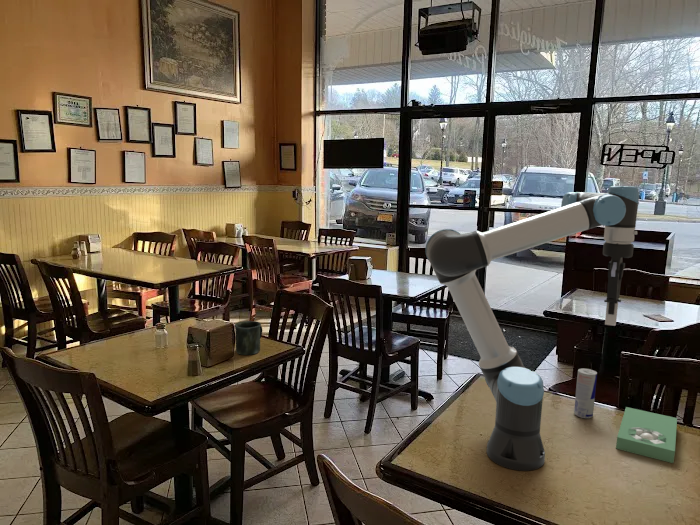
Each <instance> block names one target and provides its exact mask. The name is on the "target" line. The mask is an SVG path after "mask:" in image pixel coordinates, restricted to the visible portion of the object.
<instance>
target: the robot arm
mask: <svg viewBox="0 0 700 525" xmlns="http://www.w3.org/2000/svg"><path fill="white" fill-rule="evenodd" d="M639 204H640V191H639V188H638V187H637V186H631V185H629V186H628V185H611V186H609V187H608V190H607V192H587V191H585V192H584V191H583V192H582V191H581V192H580V191H576V192H574V191H573V192H572V191H571V192H566V193H565V194H564V195H563V197H562V200H561V204H560V205H561V206H560V207H558V208H555V209H554V208H553V209H552V210H548V211H546V212H543V213H539V214H536V215H533V216H529V217H527V218H523V219H521V220H518V221H514V222H511V223H508V224H504V225H502V226H499V227H496V228H493V229H490V230H486V231H483V232H481V231H479V230H474V231H470V232H467V233H461V232H459V231H457V230H454V229H452V228H451V229H450V228H447V229H446V228H444V229H440V230H437V231H436V232H434V233H433V234H432V235H430V237H428V240H427V242H426V245H425V249H424V250H425V255H426V258H427V260H428V262H429V263H430V266H431V267H432V271H433V272H434V274H435V276H436V277H437V280H438V283H439V284H441V285H443V286H446V287H447V289H448V291H449V293H450V295H451V297H452V300H453V301H454V304H455V305H456V307H457V310H458V312H459V314H460V316H461V319H462V321H463V322H464V324H465V327H466V329H467V331H468V333H469V335H470V337H471V339H472V341H473V344H474V346H475V348H476V350H477V352H478V354H479V356H480V359H479V362H478V367H479V368H480V370H481V372H482V375H483V377H484V379H485V380H484V381H485V383H486V385H487V386H488V388H489V390H490V391H491V394H492V396H493V398H494V400H495V404H496V405H495V406H496V408H495V421H494V422H495V423H494V428H493V430H491V431H492V432H491V435H490V436H489V439H488V440H487V443H486V454H487V457H488V458H489V459H490V460H491V461H492V462H494V463H495V464H497V465H499V466H501V467H504V468H506V469H510V470H514V471H527V472H528V471H533V470H534V471H535V470H537V469H539V468H541V467H543V466H544V464H545V459H546V452H545V448H544V444H543V441H542V436H541V423H542V411H543V400H544V395H545V387H544V381H543V379H542V376H540V374H539V373H537V372H535V371H534V370H532V371H531V369H529V368H526V367H525V366H524V364H523V361H522V359H521V357H520V356H519V353H518V351H517V349H516V348H515V347H513V346H509V344H508V342H507V340H506V338H505V336H504V333H503V331H502V329H501V327H500V325H499V322H498V320H497V318H496V316H495V314H494V312H493V309H492V307H491V305H490V303H489V301H488V299H487V297H486V295H485V293H484V290H483V288H482V286H481V284H480V282H479V279H478V277H477V275H476V272H477V271H478V270H479V269H483V268H486V267H488V266H489V265H490V264H491V263H492V261H494V260H497V259H500V258H503V257H507V256H510V255H513V254H516V253H518V252H523V251H526V250H528V249H532V248H534V247H538V246H541V245H543V244H547V243H550V242H553V241H556V240H560V239H562V238H566V237H569V236H572V235H574V234H578V233H581V232H584V231H588V230H590V229H591V230H592V229H594V228H595V229H596V228H597V227H602V226H604V231H603V232H604V233H603V240H604V242H603V247H602V255H603V256H605V257H610V258H611V259H610V261H609V262H608V263H607V278H608V279H607V288H606V289H607V292H606V299H604V303H606V309H605V317H604V318H605V319H604V320H605V321H604V325H605V326H614V327H615V326H616V325H617V317H618V310H619V308H618V306H619V303H621V302H622V299H620V297H621V296H620V293H621V285H622V278H623V276H624V269H625V267H626V263H625V262H623V259H629V258H632V257H633V256H634V255H633V254H634V247H635V246H634V241H635V235H636V236H637V235H638V230H636V227H637V226H636V225H637V216H638V210H639V209H638V208H639Z"/></svg>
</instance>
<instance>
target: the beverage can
mask: <svg viewBox="0 0 700 525" xmlns="http://www.w3.org/2000/svg"><path fill="white" fill-rule="evenodd" d="M597 380H598V372H597V371H596V370H593V369H590V368H578V370H577V377H576V388H575V396H574V397H575V399H574V409H573V410H574V411H573V414H575V415H576V417H579V418H581V419H591V418H593V417H594V407H595V399H596V398H595V397H596V389H597V388H596V387H597Z"/></svg>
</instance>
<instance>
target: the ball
mask: <svg viewBox="0 0 700 525" xmlns="http://www.w3.org/2000/svg"><path fill="white" fill-rule="evenodd" d="M640 437H641V438H643V439H647V440H655V439H654V437H653V436H652V435H651V434H649V433H642V434H641V435H640Z"/></svg>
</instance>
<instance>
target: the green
mask: <svg viewBox="0 0 700 525" xmlns="http://www.w3.org/2000/svg"><path fill="white" fill-rule="evenodd" d="M677 423H678V418H677V417H673V416H670V415H664V414H659V413H656V412H655V413H654V412H650V411H646V410H643V409H638V408H632V407H628V406H625V410H624V413H623V416H622V419H621V422H620V426H619V430H618V432H617V437H616V446H615V449H616V450H621V451H625V452H626V453H627V452H628V453H632V454H635V455H640V456H643V457H646V458H647V457H648V458H650V459H651V458H652V459H654V460H655V459H656V460H659V461H663V462H667V463H671V464H674V460H675V453H676V439H677V425H678V424H677ZM642 433H649V434H651V435H652V436H653V437H654V439H655V440H647V439H643V438H641V437H640V435H641V434H642Z"/></svg>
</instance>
